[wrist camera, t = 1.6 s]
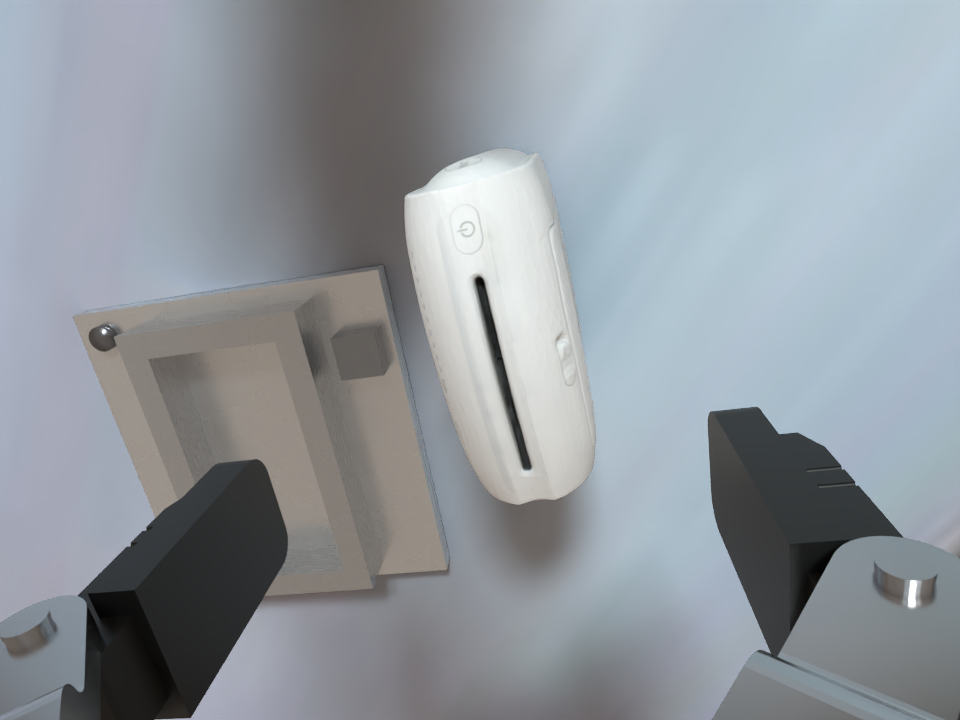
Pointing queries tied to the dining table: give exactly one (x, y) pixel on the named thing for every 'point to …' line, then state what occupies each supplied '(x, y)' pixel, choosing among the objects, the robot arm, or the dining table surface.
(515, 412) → the photo printer
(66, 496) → the dining table surface
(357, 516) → the plate
